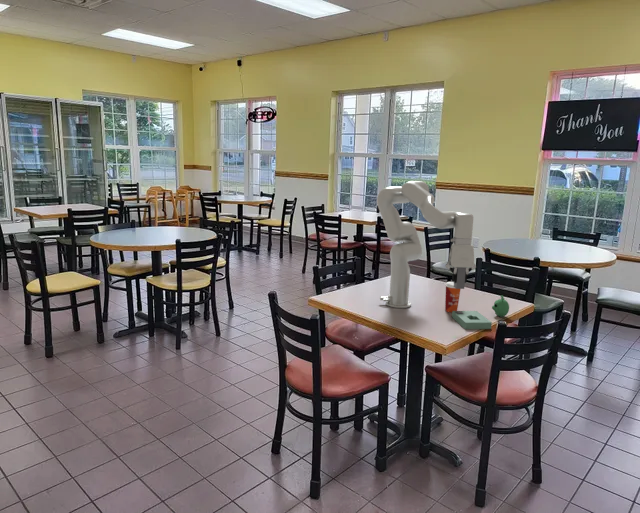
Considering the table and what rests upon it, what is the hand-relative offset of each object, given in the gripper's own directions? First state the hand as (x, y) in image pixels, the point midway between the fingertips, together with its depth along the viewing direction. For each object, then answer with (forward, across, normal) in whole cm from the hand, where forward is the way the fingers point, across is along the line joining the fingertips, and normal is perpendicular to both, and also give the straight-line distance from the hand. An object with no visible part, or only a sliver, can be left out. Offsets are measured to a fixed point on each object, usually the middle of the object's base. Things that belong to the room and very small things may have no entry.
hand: (459, 281), depth 212 cm
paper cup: (+20, +4, +18) cm, 27 cm away
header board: (+20, +8, +2) cm, 21 cm away
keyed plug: (+3, 0, 0) cm, 3 cm away
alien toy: (+20, +25, +11) cm, 34 cm away
